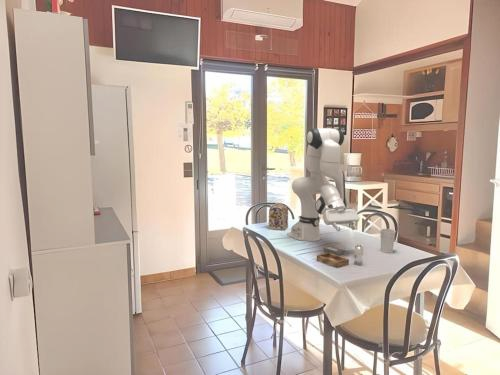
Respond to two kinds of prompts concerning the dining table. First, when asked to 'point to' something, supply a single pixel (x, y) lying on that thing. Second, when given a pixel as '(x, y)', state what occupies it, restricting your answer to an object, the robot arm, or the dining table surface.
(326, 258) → the brown wooden shallow tray
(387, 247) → the cup
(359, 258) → the steel cell
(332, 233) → the dining table surface
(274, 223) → the decorative jar
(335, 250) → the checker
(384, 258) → the dining table surface
